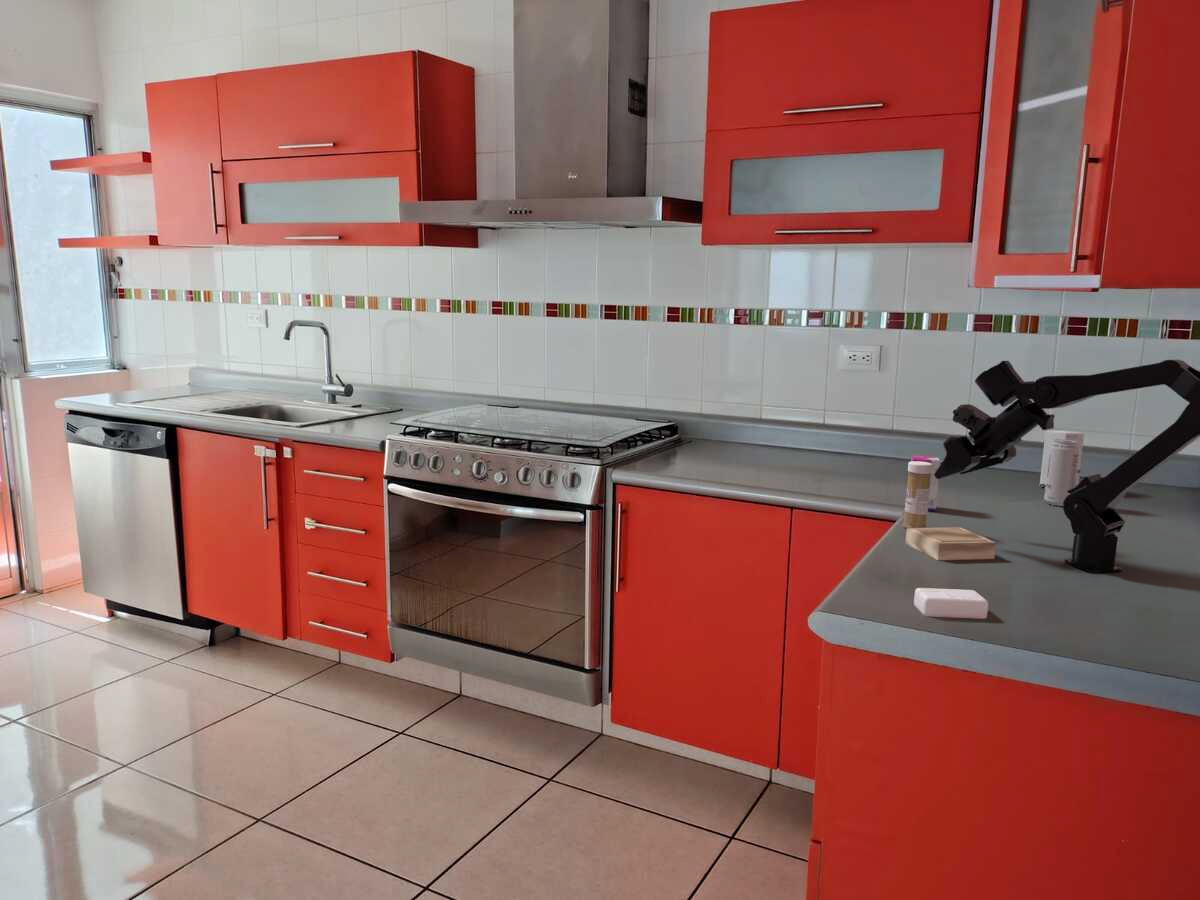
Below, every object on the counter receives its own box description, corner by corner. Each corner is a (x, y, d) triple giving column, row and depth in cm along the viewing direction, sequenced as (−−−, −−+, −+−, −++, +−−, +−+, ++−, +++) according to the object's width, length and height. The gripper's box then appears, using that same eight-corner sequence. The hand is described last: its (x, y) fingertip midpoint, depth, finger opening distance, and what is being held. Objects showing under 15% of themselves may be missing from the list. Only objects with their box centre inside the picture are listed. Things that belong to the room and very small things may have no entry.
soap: (973, 608, 132) (975, 588, 131) (988, 621, 126) (990, 600, 126) (912, 605, 132) (913, 586, 131) (924, 618, 127) (926, 598, 126)
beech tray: (994, 558, 158) (996, 541, 158) (937, 560, 156) (939, 542, 156) (958, 542, 169) (960, 526, 169) (905, 543, 167) (906, 527, 166)
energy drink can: (1044, 500, 212) (1051, 438, 210) (1073, 504, 209) (1080, 440, 207) (1042, 504, 207) (1049, 441, 205) (1071, 508, 204) (1079, 443, 202)
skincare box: (1060, 492, 223) (1066, 433, 221) (1037, 487, 229) (1044, 430, 226) (1079, 489, 228) (1086, 432, 225) (1056, 485, 233) (1063, 428, 231)
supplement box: (933, 506, 201) (938, 456, 200) (936, 511, 196) (941, 460, 194) (906, 504, 203) (911, 454, 201) (908, 509, 197) (913, 458, 196)
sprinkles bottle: (898, 525, 182) (904, 460, 180) (920, 525, 182) (926, 460, 180) (908, 531, 177) (914, 464, 175) (930, 531, 178) (936, 464, 176)
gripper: (1006, 389, 173) (947, 438, 183) (958, 393, 161) (898, 445, 171) (1043, 435, 168) (980, 482, 178) (997, 442, 156) (932, 492, 166)
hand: (948, 474), depth 173 cm, fingers open, 9 cm apart
